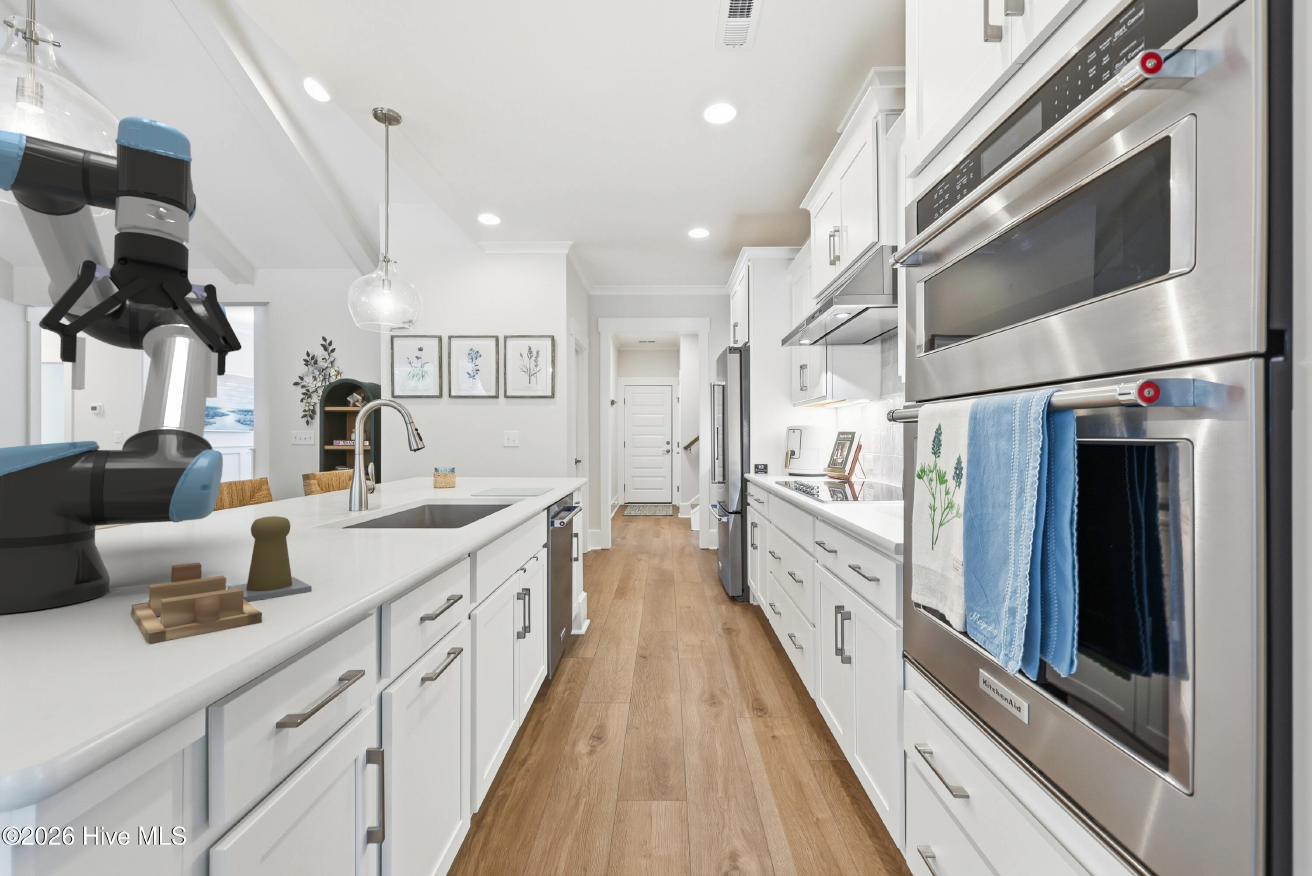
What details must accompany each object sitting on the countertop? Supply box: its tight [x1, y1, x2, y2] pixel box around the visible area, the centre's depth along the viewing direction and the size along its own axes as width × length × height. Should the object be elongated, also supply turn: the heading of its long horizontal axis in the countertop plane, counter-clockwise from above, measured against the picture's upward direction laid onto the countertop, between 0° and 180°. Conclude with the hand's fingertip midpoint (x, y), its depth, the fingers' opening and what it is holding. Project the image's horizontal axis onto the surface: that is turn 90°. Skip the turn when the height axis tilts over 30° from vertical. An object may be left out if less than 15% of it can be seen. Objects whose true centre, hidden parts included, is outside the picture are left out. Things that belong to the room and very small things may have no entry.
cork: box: [246, 515, 293, 591], centre depth 87 cm, size 6×6×11 cm
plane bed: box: [130, 562, 263, 644], centre depth 74 cm, size 17×11×6 cm, turn 49°
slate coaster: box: [227, 576, 312, 603], centre depth 87 cm, size 9×9×1 cm
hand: (149, 393), depth 75 cm, fingers open, 13 cm apart
